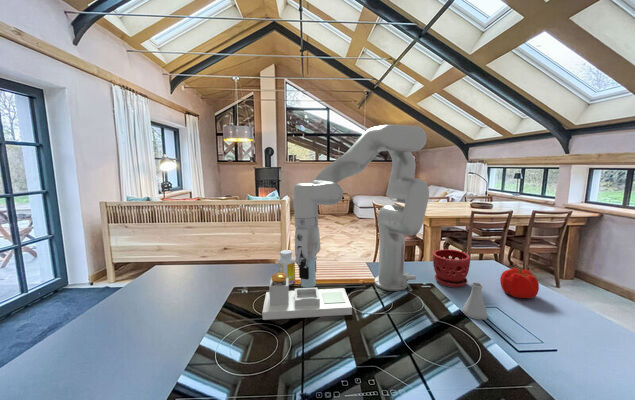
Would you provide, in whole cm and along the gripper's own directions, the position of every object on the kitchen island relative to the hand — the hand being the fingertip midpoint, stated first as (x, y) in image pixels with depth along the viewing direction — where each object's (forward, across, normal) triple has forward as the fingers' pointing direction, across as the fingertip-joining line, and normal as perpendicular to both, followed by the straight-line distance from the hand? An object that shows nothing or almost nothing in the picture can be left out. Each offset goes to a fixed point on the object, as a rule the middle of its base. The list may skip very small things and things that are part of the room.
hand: (308, 274), depth 89 cm
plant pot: (+13, +39, -44) cm, 60 cm away
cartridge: (+3, 0, 0) cm, 3 cm away
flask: (+13, +17, -50) cm, 55 cm away
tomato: (+13, +38, -66) cm, 77 cm away
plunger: (+8, -5, +8) cm, 13 cm away
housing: (+11, -1, 0) cm, 11 cm away
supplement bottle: (+11, +12, +16) cm, 23 cm away
